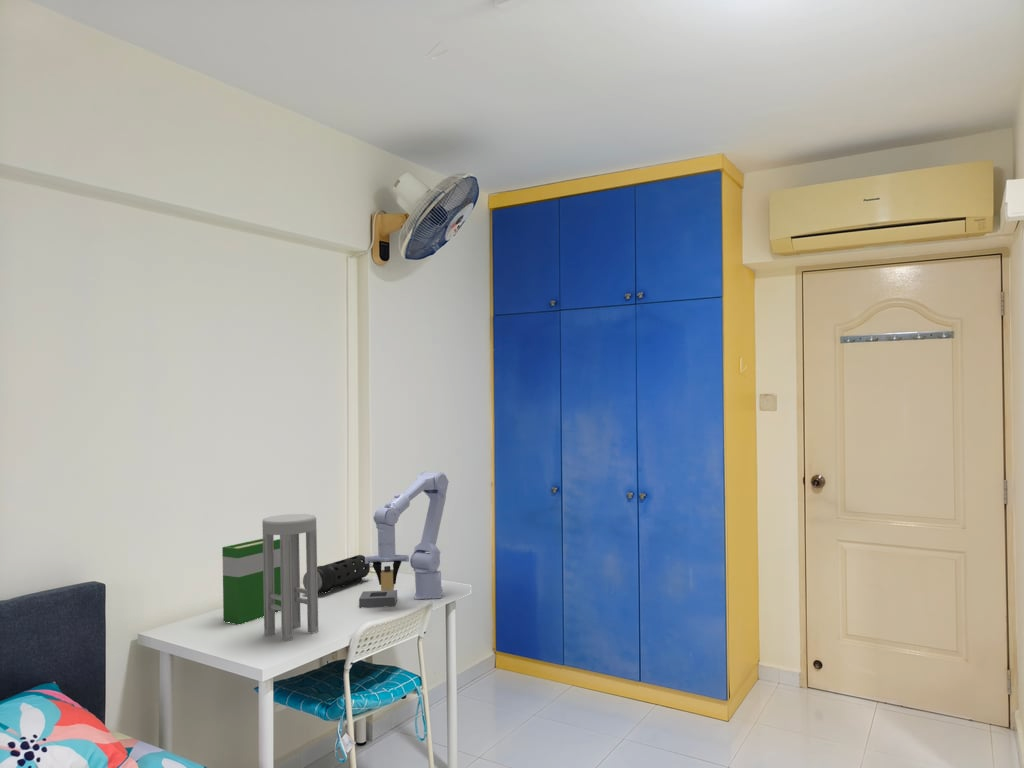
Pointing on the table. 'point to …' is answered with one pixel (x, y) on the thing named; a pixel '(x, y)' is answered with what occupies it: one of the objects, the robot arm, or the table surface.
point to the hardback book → (247, 580)
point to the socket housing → (378, 598)
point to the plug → (387, 579)
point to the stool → (290, 573)
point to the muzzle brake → (340, 573)
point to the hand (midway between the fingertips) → (387, 583)
